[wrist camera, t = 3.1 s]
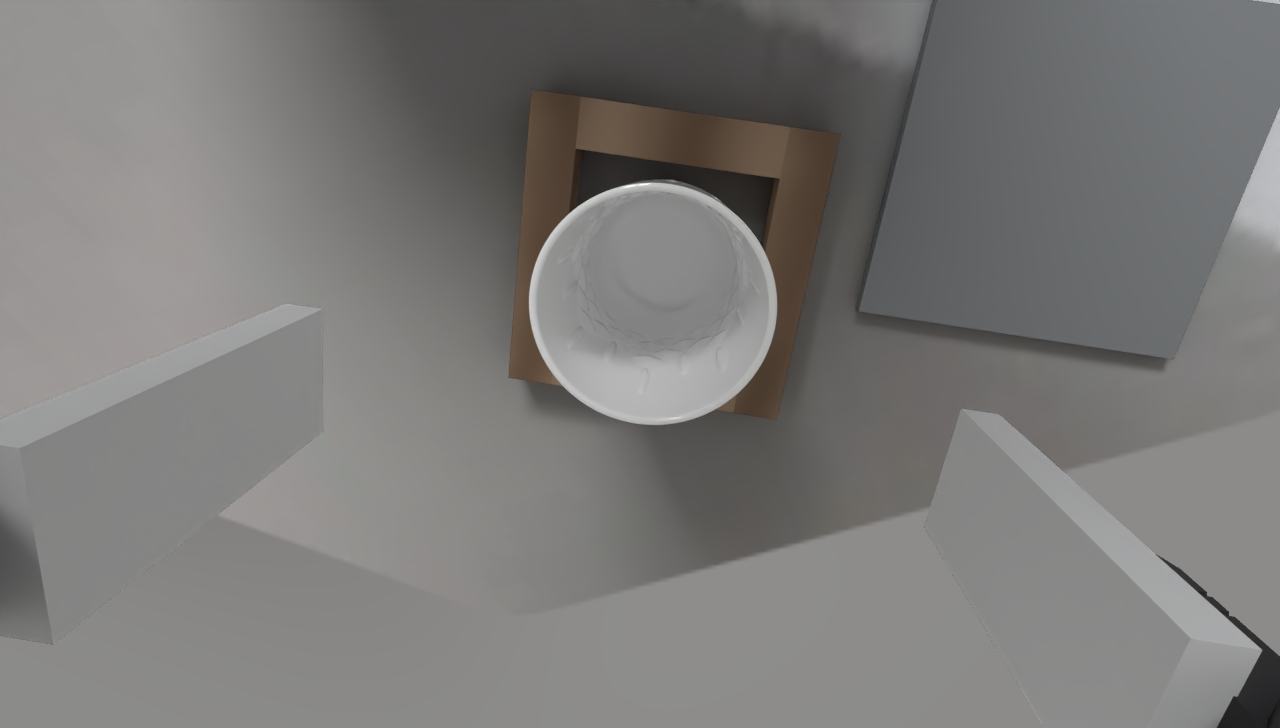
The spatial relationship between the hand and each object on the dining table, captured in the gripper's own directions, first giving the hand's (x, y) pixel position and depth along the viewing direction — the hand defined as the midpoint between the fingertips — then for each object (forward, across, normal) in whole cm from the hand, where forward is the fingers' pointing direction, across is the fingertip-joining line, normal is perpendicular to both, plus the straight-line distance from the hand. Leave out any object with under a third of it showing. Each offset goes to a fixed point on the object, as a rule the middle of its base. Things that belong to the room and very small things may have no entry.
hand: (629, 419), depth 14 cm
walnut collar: (+18, 0, 0) cm, 18 cm away
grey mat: (+18, +16, +6) cm, 25 cm away
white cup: (+18, 0, 0) cm, 18 cm away
